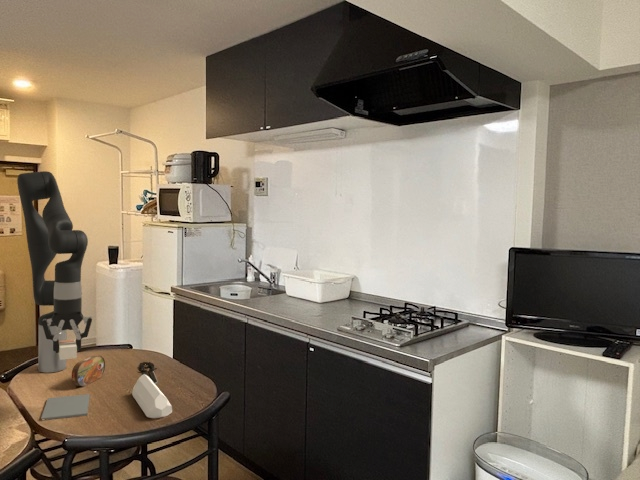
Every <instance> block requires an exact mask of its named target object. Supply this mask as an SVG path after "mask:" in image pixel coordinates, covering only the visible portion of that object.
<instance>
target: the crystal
mask: <svg viewBox="0 0 640 480" xmlns="http://www.w3.org/2000/svg"><path fill="white" fill-rule="evenodd" d="M149 377H150V376H149ZM149 377H148V376H147V375H145V374H143V373H142V375H141V376H139V377H138V379H137V381H136V383H134V386H133V388H132V392H131V395H132V397H133V399H134V400H135V401H136V403H137V404H138V406H139V407H140V409H141V410H142V411H143V413H144V415H145V416H146V417H147V418H150V419H160V418H164V417H168V416H169V415H170V414H172V413H173V406H172V404H171V403H170V401H169V399H168V398H167V396H165V394H164V393H163V392H162V391H161V390H160V388H159V387H158V386H157V385H156V384H154V382H153V381H152V380H151V377H150V378H149Z"/></svg>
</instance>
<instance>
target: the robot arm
mask: <svg viewBox="0 0 640 480" xmlns="http://www.w3.org/2000/svg"><path fill="white" fill-rule="evenodd" d="M16 182H17V190H18V195H19V200H20V203H21V208H22V212H23V218H24V225H25V234H26V241H27V242H26V243H27V249H28V254H29V259H30V265H31V275H32V276H31V277H32V293H33V299H34V302H35V304H36V305H38V306H43V307H45V306H49V307H50V306H51V307H52V306H53V311H51V312H48V313H44V314H42V315H40V316H39V317H38V322H37V323H38V352H37V353H38V359H37V361H38V362H37V367H38V372H40V373H47V374H49V373H56V372H57V373H58V372H61V371H64V370H65V369H67V359H62V360H60V358H59V354H58V352H59V341H63V340H68V339H67V331H72V332H73V333H74V335H75V337H76V339H75V343H76V345H77V353H78V352H79V350H81V349H82V339H85V338H87V337H88V336H89V333H90V328H91V326H92V322H93V317H92V316H84V315H83V313H82V303H83V302H82V301H83V300H82V297H83V296H82V295H83V289H82V265H83V260H84V258H85V254H86V251H87V248H88V244H89V243H88V241H89V240H88V239H89V238H88V236H87V234H86V233H85V232H84V231H83V230H81V229H80V230H79V229H73V228H74V225H73V221H72V220H71V218H70V216H69V213H68V212H67V210H66V208H65V206H64V202H63V198H62V194H61V192H60V189H59V185H58V182H57V180H56V177H55V176H54V174H53V173H52V172H51V171H47V170H45V171H44V170H43V171H42V170H41V171H35V172H33V171H32V172H25V173H24V172H23V173H19V174H18V176H17V179H16ZM39 200H48V201H47V202H46V204H45V205H44V206H43V207H44V208H43V209H42V215H41V214H40V213H39V212H38V211H37V209H36V208H35V206H34V203H33V201H39ZM65 254H66V255H67V254H69V255H70V254H71V255H70V257H69V258H68V259H66V260H63V261H59V262H57V263H55V265H54V280H46V278H45V273H46V271H47V269H48V268H49V266H50V265H51V263H52V262H53V261H54V259H55V257H56V256H57V255H65ZM82 321H83V324H84V325H85V327H84V330H83V331H84V332H81V331H80V327H79V325H80V324H81V322H82Z"/></svg>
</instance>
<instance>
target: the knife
mask: <svg viewBox="0 0 640 480" xmlns="http://www.w3.org/2000/svg"><path fill="white" fill-rule="evenodd" d="M145 364H146V365H145ZM148 368H150V369H149V370H147V369H148ZM157 369H158V368H157V367H155V364H154V363H153V362H151V361H143V362H139V369H138V372H140V373H141V374H142V375H143V374H145V375H147V376H148V377H149V378H150V379H151V380H152V381H153V382H154V384H155V385H156V384H158V383H159V381H158V379H157V376H156V374H155V371H154V370H157Z"/></svg>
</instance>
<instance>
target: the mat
mask: <svg viewBox="0 0 640 480" xmlns="http://www.w3.org/2000/svg"><path fill="white" fill-rule="evenodd" d="M90 397H91V394H90V393H86V394H77V395H76V394H75V395H74V394H73V395H66V396H65V395H64V396H55V397H48V398H47V400H46V403H45V405H44V408H43V411H42V414H41V417H40V420H41V419H50V420H59V419H65V418H66V419H67V418H74V417H75V418H76V417H83V416H84V417H85V416H88V412H89V405H90Z"/></svg>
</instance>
